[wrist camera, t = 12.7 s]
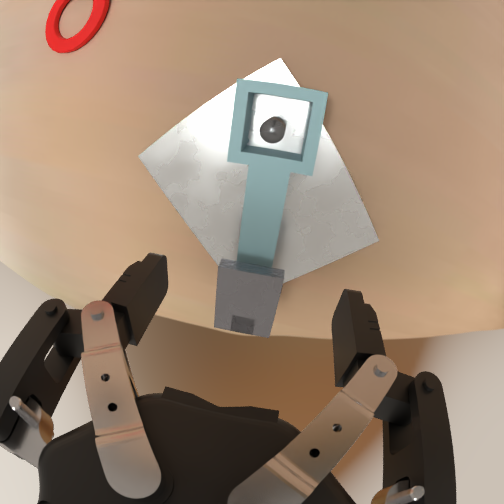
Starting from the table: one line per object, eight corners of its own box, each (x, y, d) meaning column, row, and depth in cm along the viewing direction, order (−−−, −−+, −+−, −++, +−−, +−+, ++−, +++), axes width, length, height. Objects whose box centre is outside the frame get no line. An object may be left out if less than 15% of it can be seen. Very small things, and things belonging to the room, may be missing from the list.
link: (244, 81, 19) (237, 78, 16) (323, 93, 19) (328, 92, 16) (223, 264, 28) (216, 282, 25) (285, 276, 28) (284, 295, 25)
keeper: (274, 293, 30) (268, 337, 25) (228, 284, 30) (214, 327, 25) (286, 238, 26) (284, 278, 21) (234, 229, 27) (218, 266, 21)
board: (280, 59, 18) (280, 57, 18) (377, 236, 25) (379, 240, 24) (142, 154, 24) (138, 156, 23) (245, 294, 31) (244, 299, 30)
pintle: (281, 110, 20) (276, 114, 14) (290, 125, 20) (289, 135, 15) (265, 119, 20) (254, 127, 15) (275, 133, 21) (267, 147, 15)
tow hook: (96, 55, 19) (128, -29, 14) (-19, 67, 8) (26, -61, 2) (44, 51, 19) (70, -23, 13) (-53, 70, 7) (-23, -31, 2)
